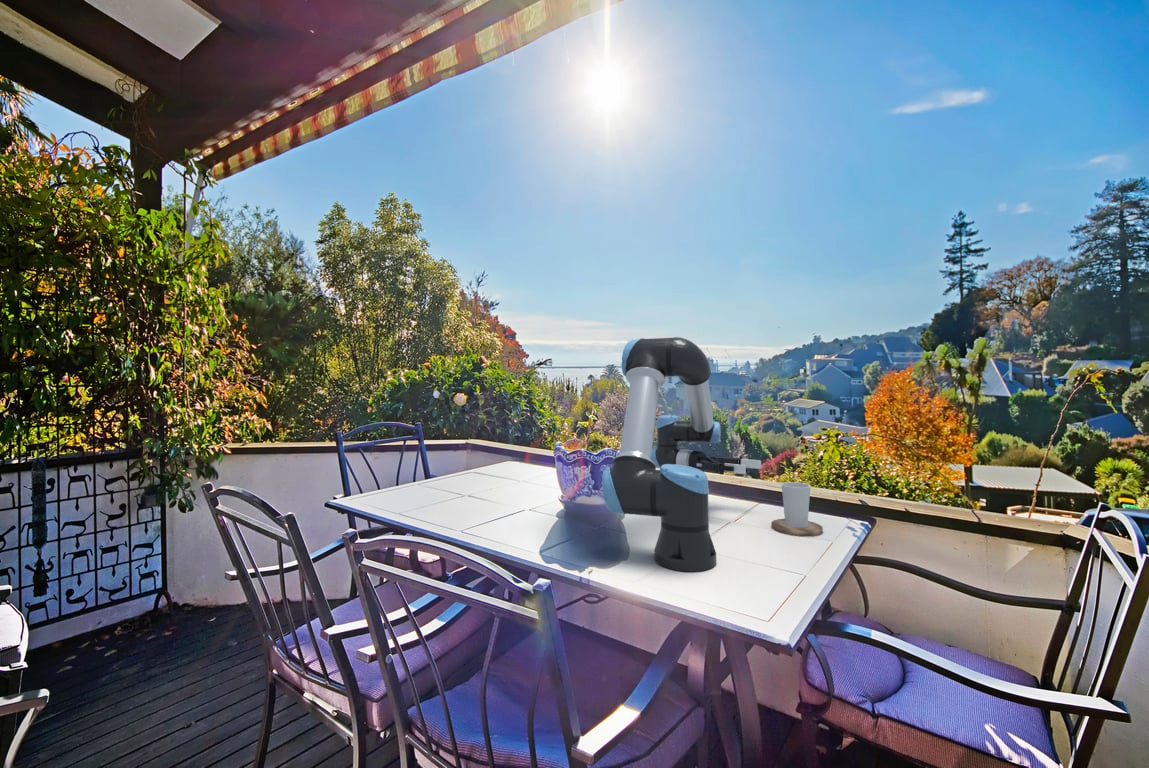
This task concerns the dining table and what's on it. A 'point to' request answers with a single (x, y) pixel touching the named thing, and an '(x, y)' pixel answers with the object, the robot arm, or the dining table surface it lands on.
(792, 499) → the cup
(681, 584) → the dining table surface
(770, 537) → the dining table surface
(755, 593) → the dining table surface
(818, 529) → the disc
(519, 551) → the dining table surface
